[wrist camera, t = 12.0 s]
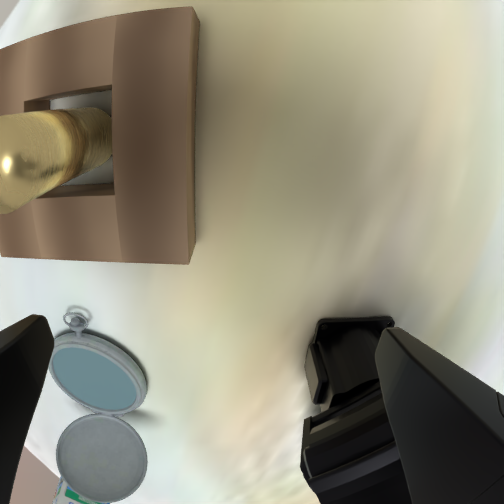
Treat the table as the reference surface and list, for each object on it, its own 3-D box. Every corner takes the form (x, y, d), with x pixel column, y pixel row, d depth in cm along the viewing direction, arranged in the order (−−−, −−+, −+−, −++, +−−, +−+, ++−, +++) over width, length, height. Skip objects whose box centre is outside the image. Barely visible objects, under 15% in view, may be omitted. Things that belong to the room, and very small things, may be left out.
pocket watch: (49, 488, 19) (-35, 387, 12) (77, 410, 28) (31, 300, 22) (145, 514, 19) (86, 428, 13) (161, 424, 29) (134, 311, 23)
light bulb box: (76, 437, 31) (54, 503, 21) (122, 458, 33) (107, 525, 23) (65, 459, 35) (48, 513, 25) (103, 476, 36) (91, 531, 27)
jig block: (199, 21, 15) (192, 6, 12) (195, 243, 20) (188, 264, 18) (10, 58, 14) (-16, 56, 11) (22, 240, 20) (1, 256, 17)
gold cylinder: (116, 104, 16) (29, 107, 8) (117, 167, 18) (38, 212, 10) (62, 111, 16) (-35, 125, 8) (64, 170, 18) (-25, 215, 10)
